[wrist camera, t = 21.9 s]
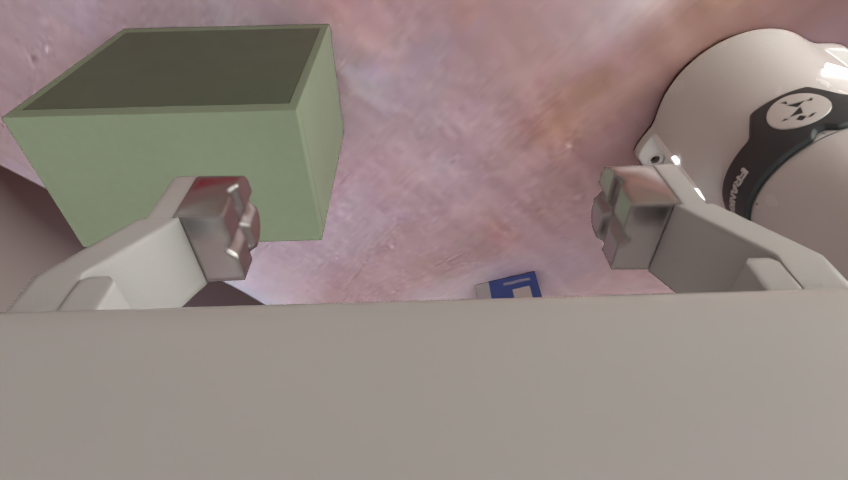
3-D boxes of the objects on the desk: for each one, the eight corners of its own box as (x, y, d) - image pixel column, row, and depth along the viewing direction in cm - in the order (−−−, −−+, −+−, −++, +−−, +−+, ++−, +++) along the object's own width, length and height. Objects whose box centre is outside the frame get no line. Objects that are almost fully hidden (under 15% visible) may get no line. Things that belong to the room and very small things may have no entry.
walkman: (534, 270, 60) (557, 350, 51) (537, 285, 62) (560, 365, 52) (472, 285, 61) (484, 365, 52) (477, 299, 63) (489, 379, 54)
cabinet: (344, 132, 47) (322, 240, 35) (167, 136, 46) (83, 247, 34) (329, 23, 40) (296, 110, 28) (123, 28, 40) (0, 117, 28)
